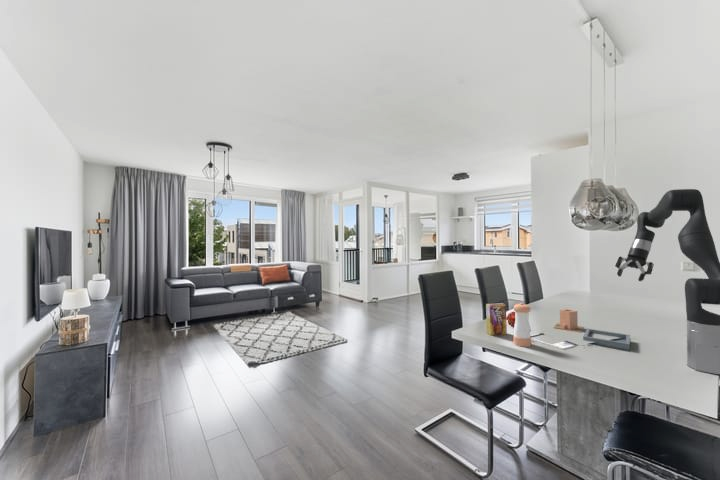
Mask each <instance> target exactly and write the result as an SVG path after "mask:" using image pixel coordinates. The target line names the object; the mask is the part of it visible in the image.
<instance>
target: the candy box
mask: <svg viewBox="0 0 720 480" xmlns="http://www.w3.org/2000/svg"><path fill="white" fill-rule="evenodd" d="M485 312H486V313H485V316H486V318H485V319H486V334H488V335H489V334H490V336H501V335H502V336H503V335H508V331H507V329H508V328H507V325H508V323H507V320H506V318H507V304H505V303H501V302H498V303H485Z"/></svg>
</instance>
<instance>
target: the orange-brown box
mask: <svg viewBox="0 0 720 480" xmlns="http://www.w3.org/2000/svg"><path fill="white" fill-rule="evenodd" d="M559 323H560V327H562V328H564V329H570V330H571V329H577V328H578V326H579V325H578V310H574V309H569V308H566V309H565V308H564V309H559Z"/></svg>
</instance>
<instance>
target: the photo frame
mask: <svg viewBox="0 0 720 480" xmlns="http://www.w3.org/2000/svg"><path fill="white" fill-rule="evenodd" d="M544 334H545V333H544V332H540V333H536V334H535V333H534V334H530V337H531V341H535V342H538V343H542V344H544V345H548V346H551V347H553V348H554V347H555V348H557V349H560V350H566V349H570V348H575V347H577V346H580V344H578V343H577V344H576V343H574V342H571V341H568V340H564V341H560V342H556V343H548V342H546V341H542V340H540V339H536V338H533V337H534V336H538V335H544Z"/></svg>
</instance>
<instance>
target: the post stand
mask: <svg viewBox="0 0 720 480" xmlns="http://www.w3.org/2000/svg"><path fill="white" fill-rule="evenodd" d="M553 329H555V330H562V331H569V332H575V333H580V334H581V333H582V332H583V330H584V329H585V327H584V326H580V325H578V328H577V329H571V330H570V329H564V328H562V327H560V322H557V323H555V325H554V326H553Z"/></svg>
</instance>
